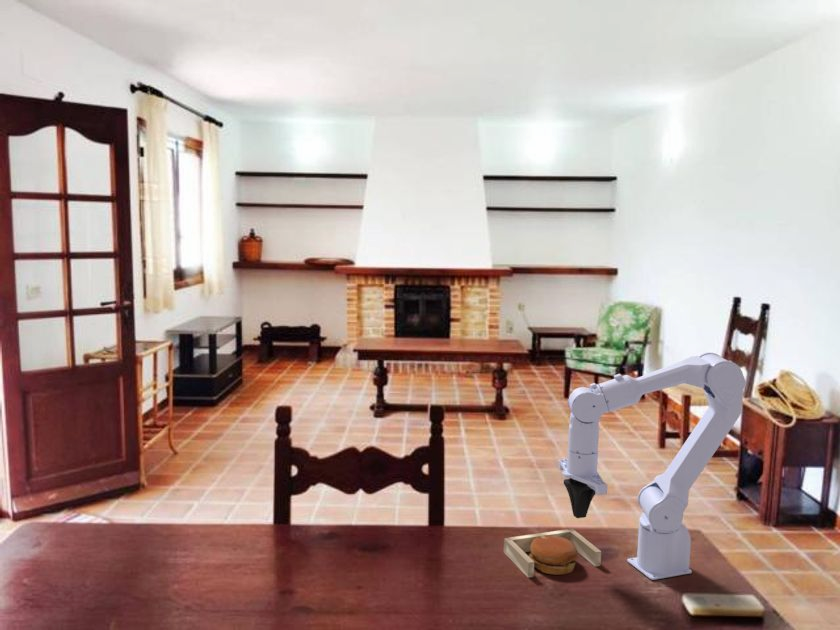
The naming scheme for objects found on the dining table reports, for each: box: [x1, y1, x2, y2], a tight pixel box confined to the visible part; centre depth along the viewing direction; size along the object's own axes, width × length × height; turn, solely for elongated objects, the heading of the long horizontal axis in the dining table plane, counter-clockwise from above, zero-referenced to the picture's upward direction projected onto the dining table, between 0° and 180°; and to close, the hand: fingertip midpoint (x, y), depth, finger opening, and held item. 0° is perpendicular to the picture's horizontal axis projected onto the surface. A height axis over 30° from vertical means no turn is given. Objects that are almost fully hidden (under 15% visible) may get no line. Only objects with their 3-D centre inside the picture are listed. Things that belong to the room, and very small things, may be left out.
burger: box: [528, 535, 579, 576], centre depth 134 cm, size 10×9×5 cm
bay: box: [503, 528, 602, 578], centre depth 135 cm, size 16×11×3 cm
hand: (579, 516), depth 133 cm, fingers closed
